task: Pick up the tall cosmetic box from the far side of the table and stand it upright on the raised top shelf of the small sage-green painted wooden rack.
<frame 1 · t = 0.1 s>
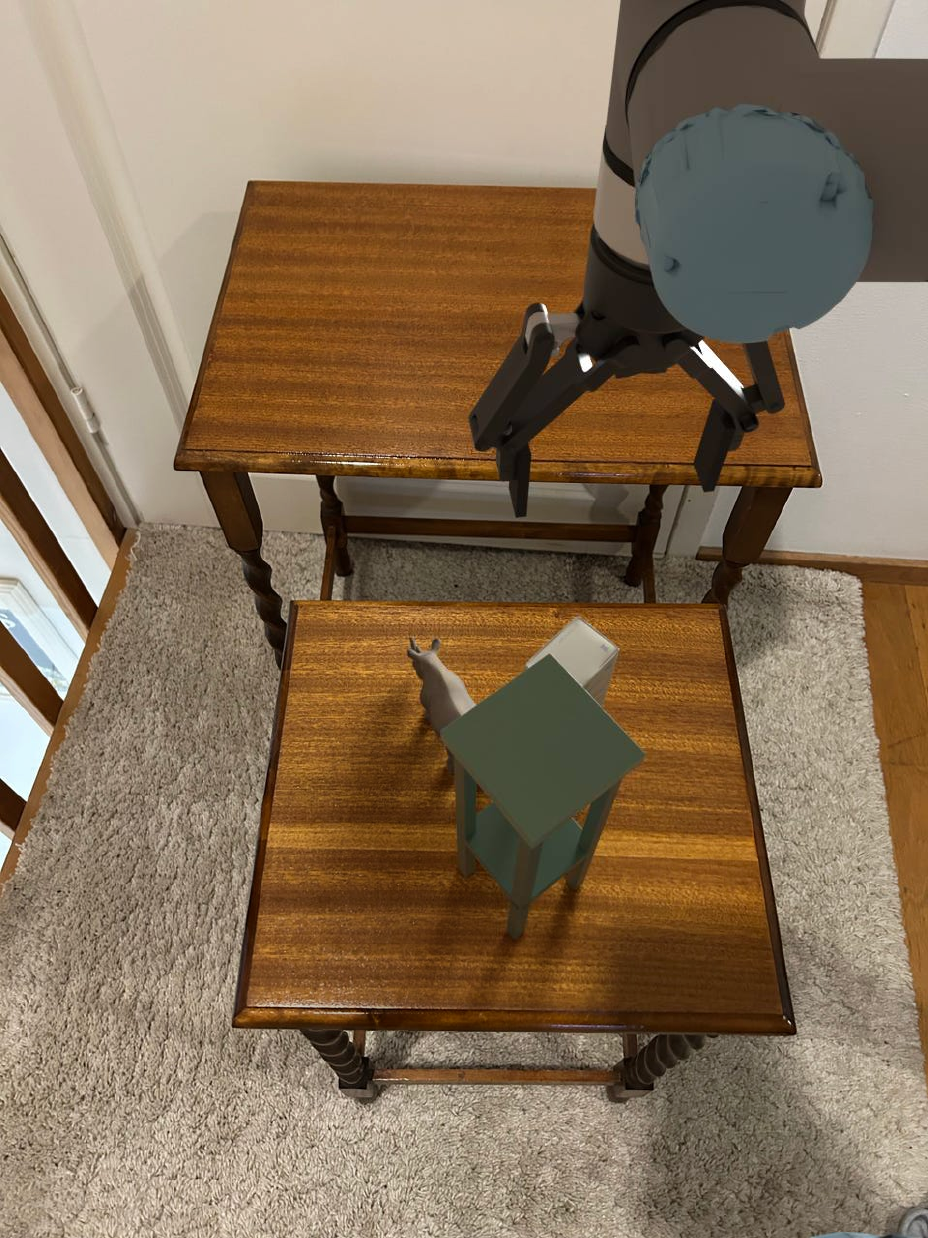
hand: (611, 490, 67), 21 cm above the table, tool pointing down, fingers open, 13 cm apart
rack stand: (520, 875, 73), on the table
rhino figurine: (446, 716, 81), on the table
cosmetic box: (559, 724, 80), on the table
rack: (542, 742, 51), resting on rack stand
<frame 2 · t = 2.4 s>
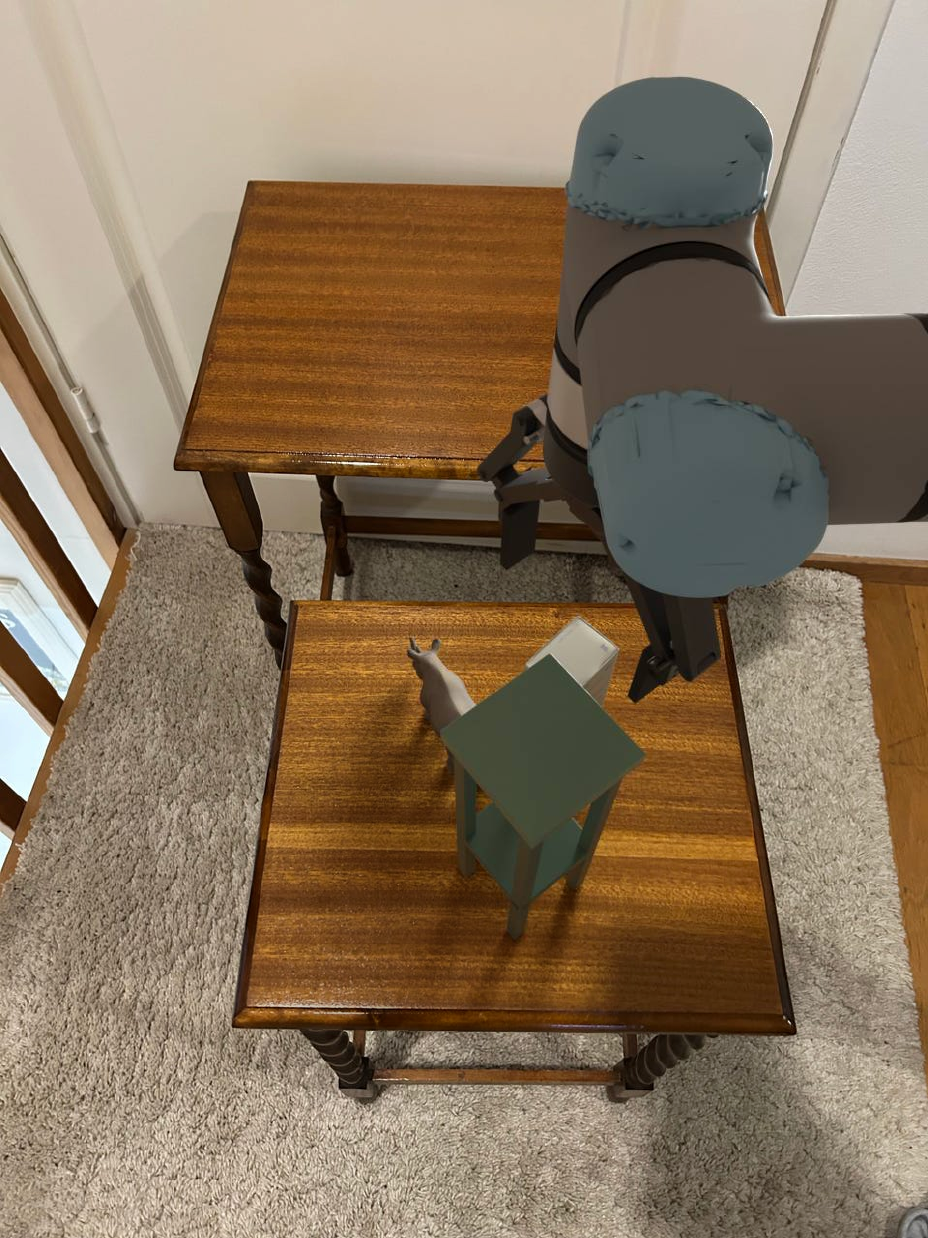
hand: (578, 621, 66), 17 cm above the table, tool pointing down, fingers open, 13 cm apart
nothing on the table moved.
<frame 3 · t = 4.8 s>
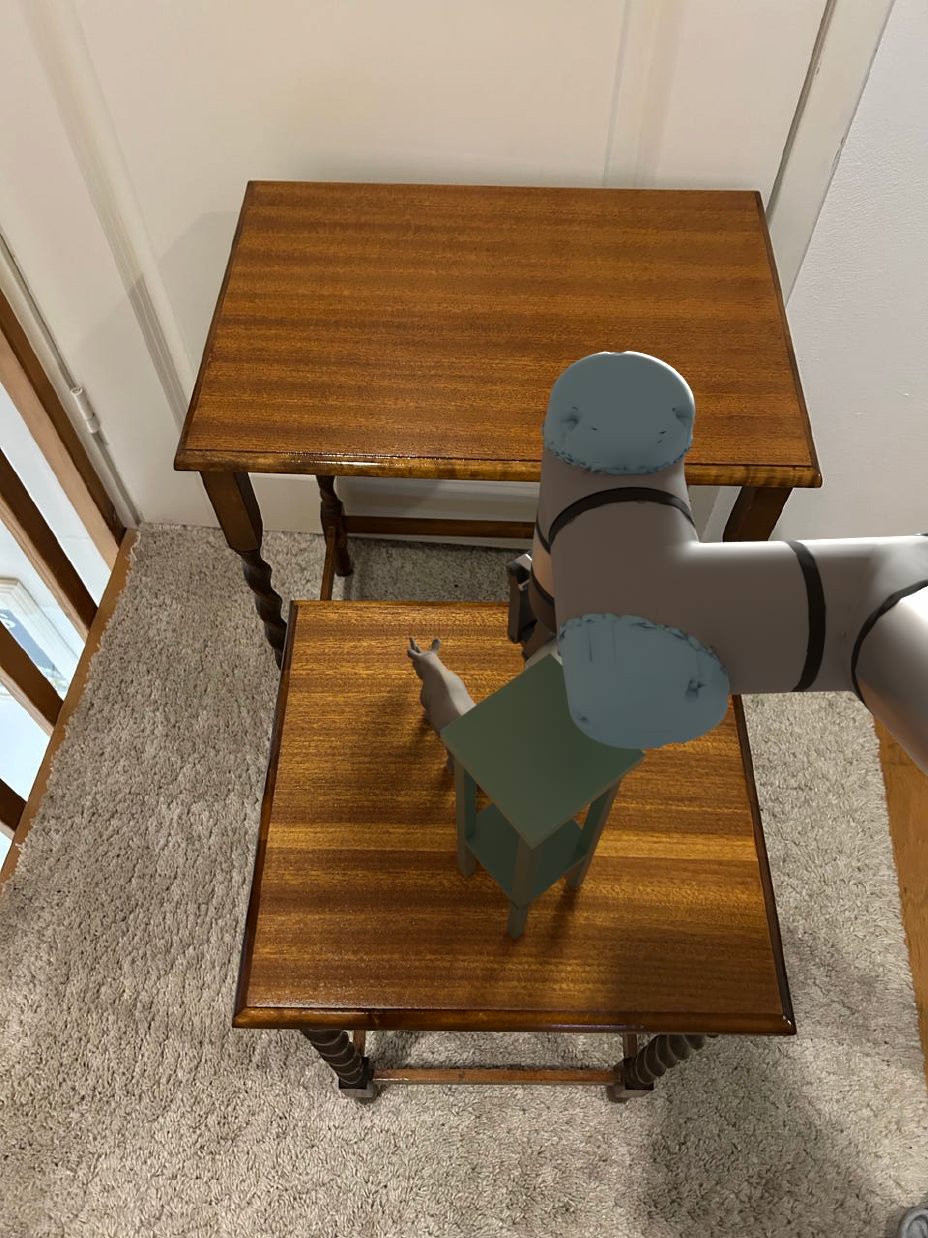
hand: (559, 719, 79), 1 cm above the table, tool pointing down, fingers closed on cosmetic box, 5 cm apart
cosmetic box: (559, 724, 80), on the table, touching gripper
everything else where it was.
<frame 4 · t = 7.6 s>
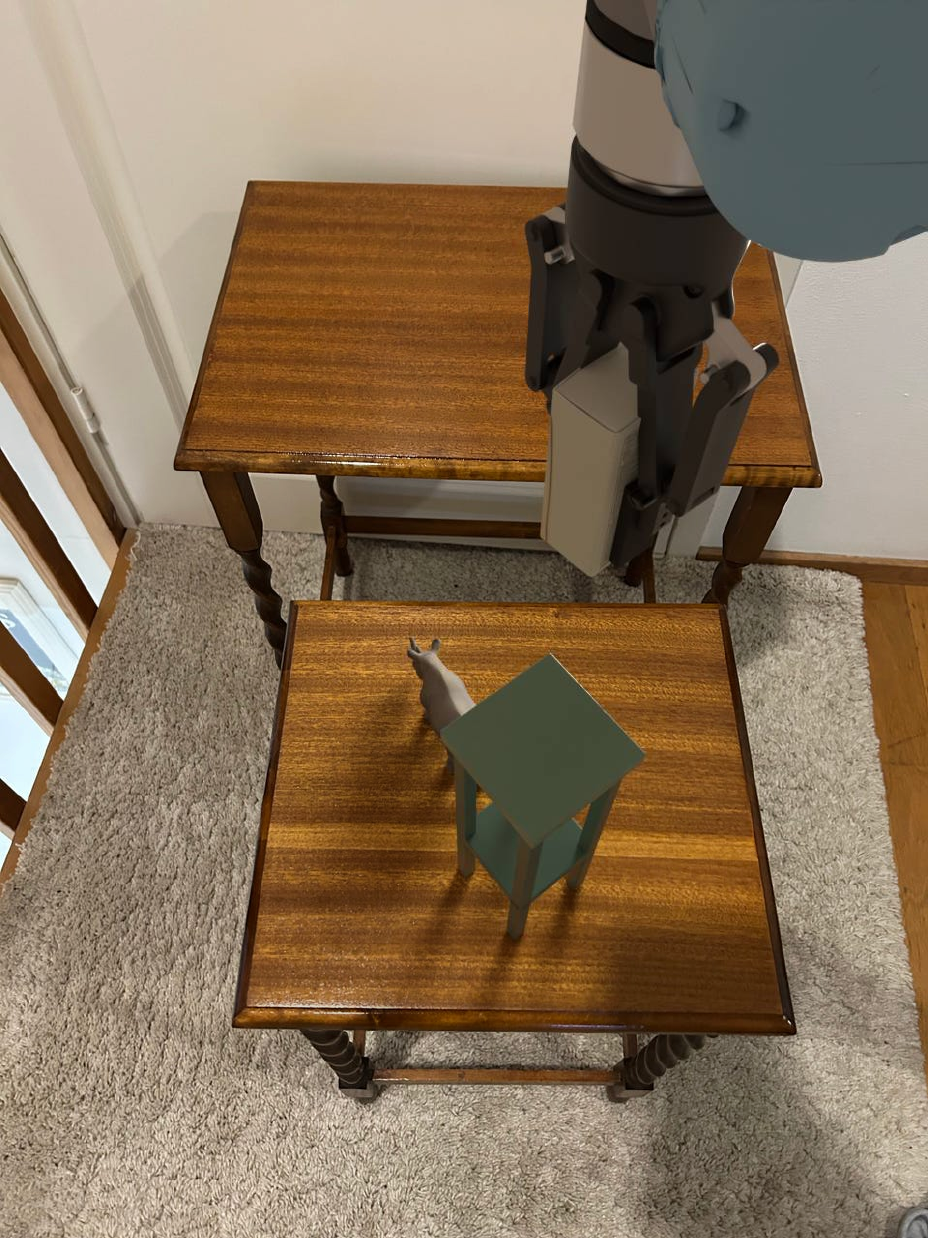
hand: (599, 523, 55), 29 cm above the table, tool pointing down, fingers closed on cosmetic box, 5 cm apart
cosmetic box: (599, 533, 55), point 28 cm above the table, touching gripper
everything else where it was.
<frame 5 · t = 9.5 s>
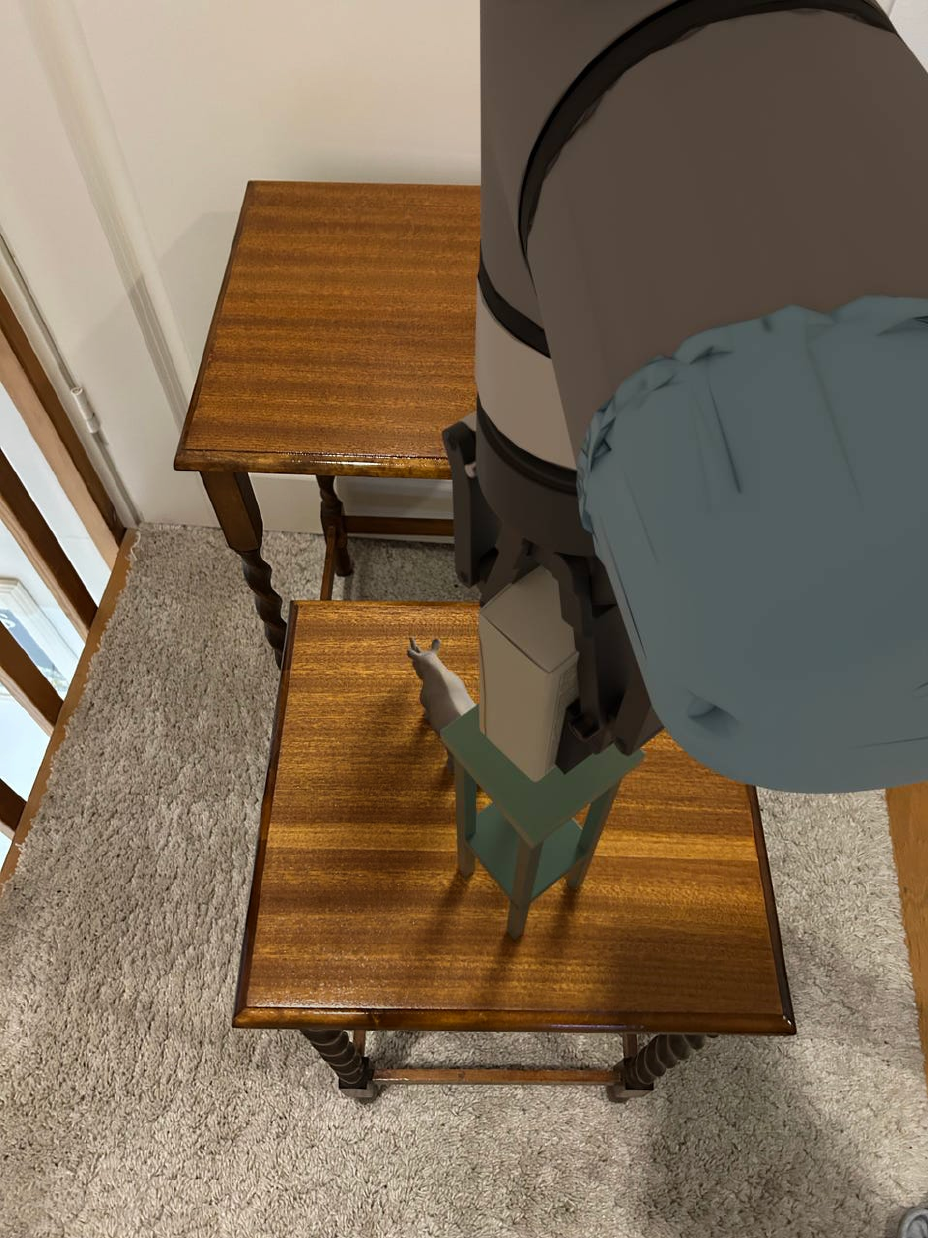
hand: (546, 716, 48), 29 cm above the table, tool pointing down, fingers closed on cosmetic box, 5 cm apart
cosmetic box: (546, 724, 49), point 28 cm above the table, touching gripper
everything else where it was.
when the fingers open (27 cm above the table, at t = 10.5 s): cosmetic box stays where it is, resting on rack.
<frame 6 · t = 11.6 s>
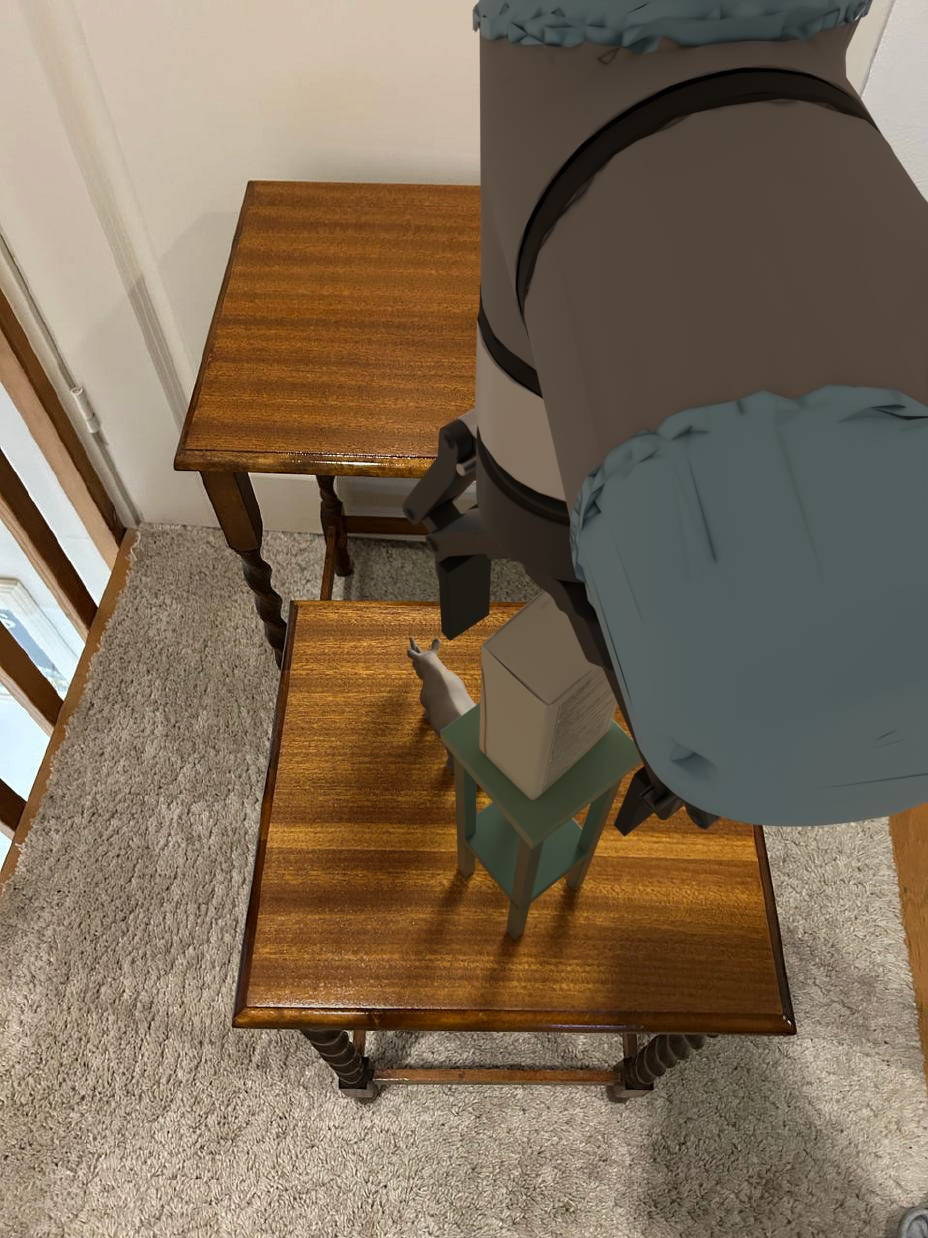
hand: (547, 713, 48), 30 cm above the table, tool pointing down, fingers open, 13 cm apart
cosmetic box: (543, 744, 51), point 26 cm above the table, touching rack
everything else where it was.
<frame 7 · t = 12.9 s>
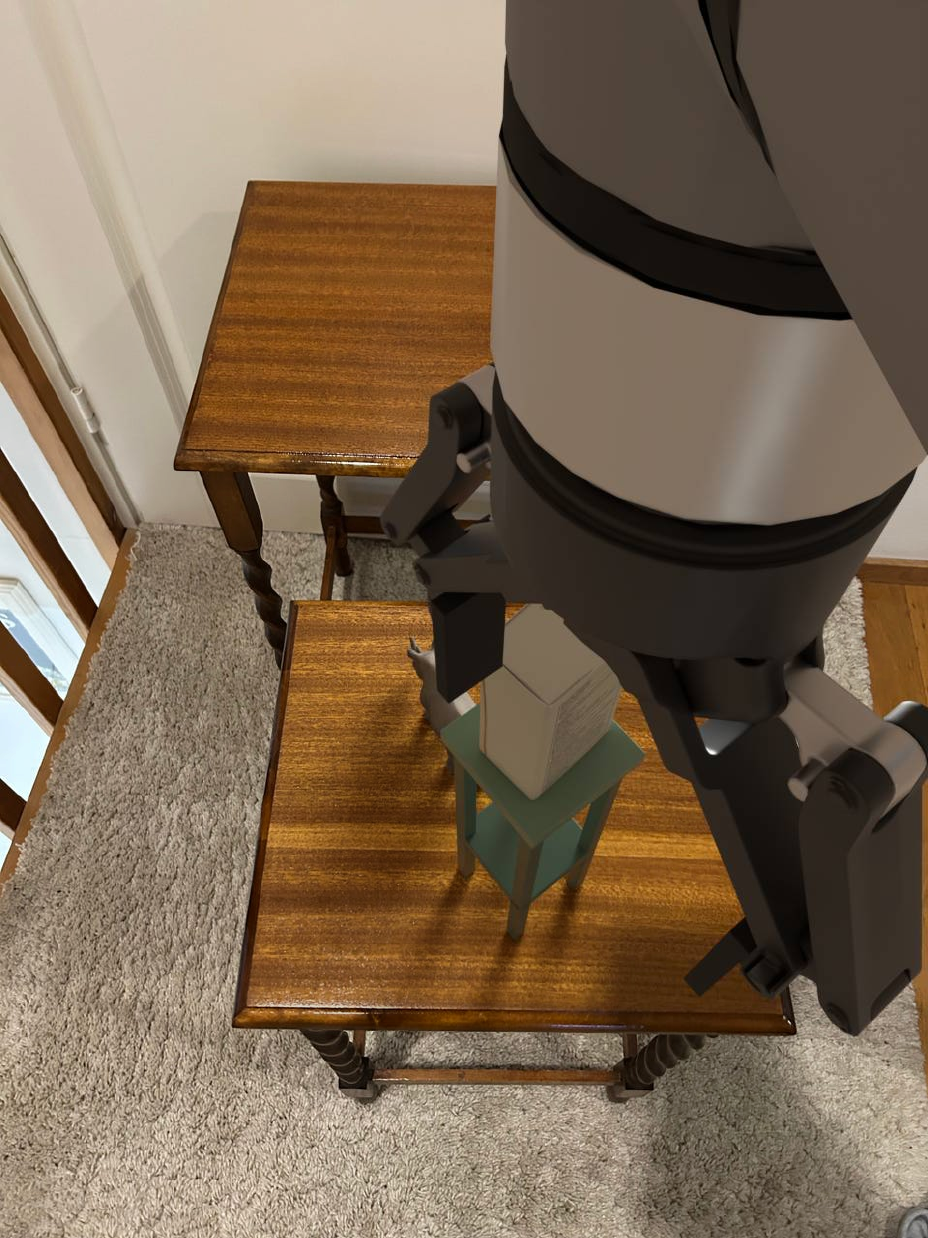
hand: (584, 808, 34), 40 cm above the table, tool pointing down, fingers open, 13 cm apart
nothing on the table moved.
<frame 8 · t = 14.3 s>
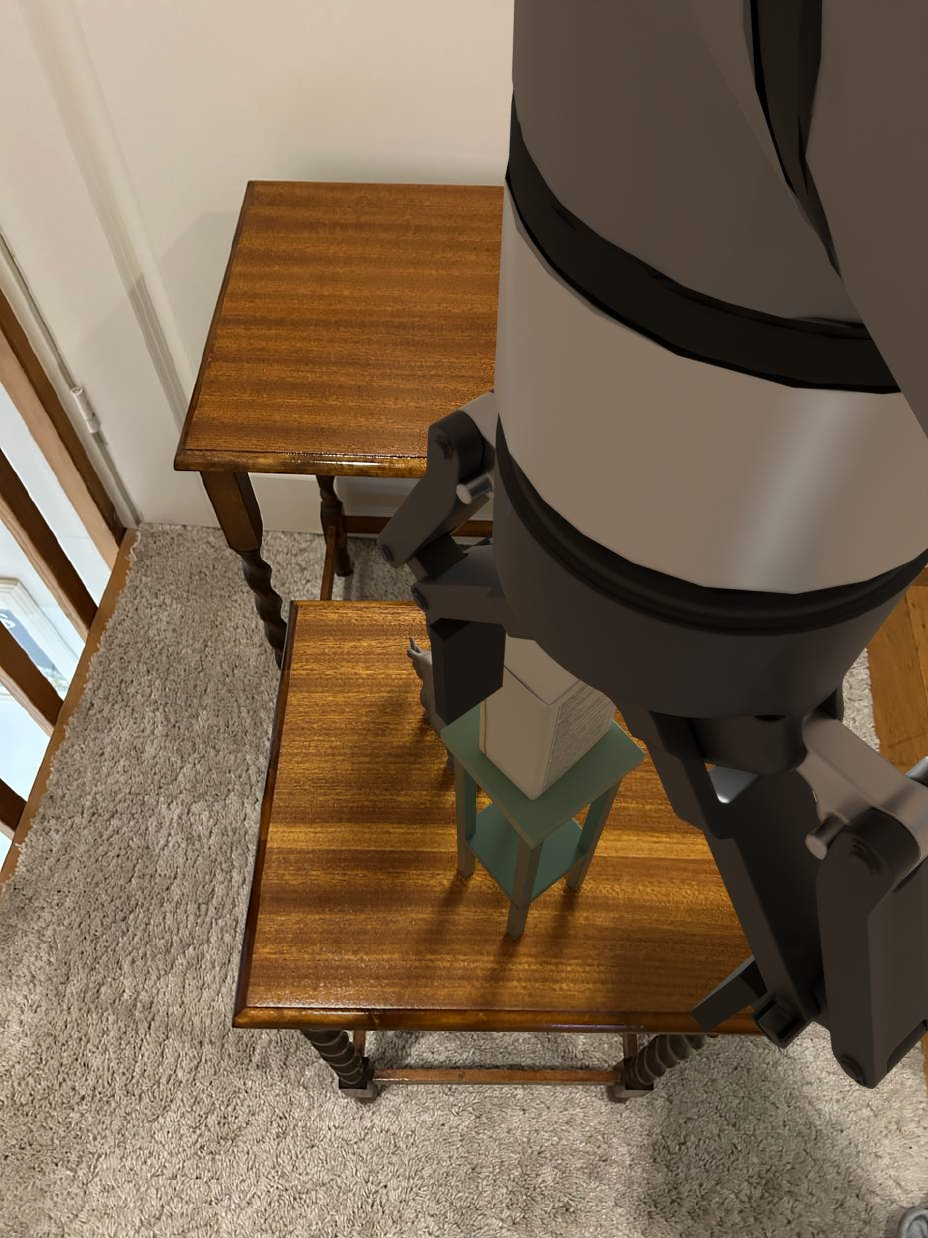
hand: (587, 835, 33), 41 cm above the table, tool pointing down, fingers open, 13 cm apart
nothing on the table moved.
at the end: cosmetic box 0.1 cm off-centre on the rack, point 0.0 cm above the rack's base; cosmetic box tilted 0°; the gripper is holding nothing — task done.
